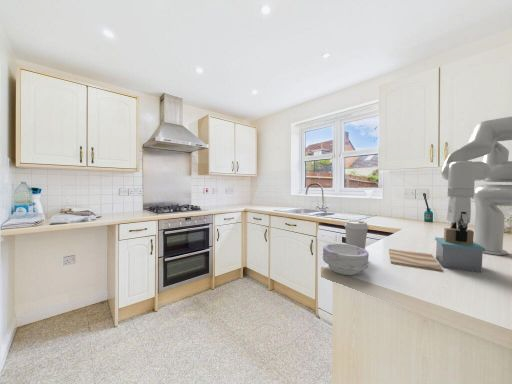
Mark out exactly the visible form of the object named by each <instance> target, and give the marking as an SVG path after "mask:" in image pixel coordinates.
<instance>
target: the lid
mask: <svg viewBox="0 0 512 384" xmlns="http://www.w3.org/2000/svg"><path fill="white" fill-rule="evenodd" d="M456 230H457V229H452V228H449V227H444V228H443V231H444V232H443V237H437V236H435V237H434V240H435V241H436V243H437V242H438V243H439V244H440V245H441V246H443V247H452V248H460V249H469V250H478V251H485V248H484V247H482V246H480V245H479V244H477V243H475V242H474V233H475V230H472V229H468V231H467V242H459V241H456V240H455V236H456Z"/></svg>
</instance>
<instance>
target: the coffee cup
mask: <svg viewBox="0 0 512 384" xmlns="http://www.w3.org/2000/svg"><path fill="white" fill-rule="evenodd" d="M343 227H345V242H346V243H345V244H348V245H353V246H357V247H360V248H363V249H365V250H366V243H367V236H368V235H367V234H368V230H369V228H370V227H369V225H368V222H366V221H361V220H346V221H345V223H344V225H343Z"/></svg>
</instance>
